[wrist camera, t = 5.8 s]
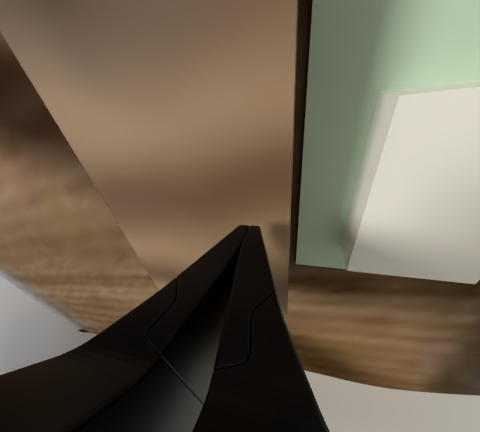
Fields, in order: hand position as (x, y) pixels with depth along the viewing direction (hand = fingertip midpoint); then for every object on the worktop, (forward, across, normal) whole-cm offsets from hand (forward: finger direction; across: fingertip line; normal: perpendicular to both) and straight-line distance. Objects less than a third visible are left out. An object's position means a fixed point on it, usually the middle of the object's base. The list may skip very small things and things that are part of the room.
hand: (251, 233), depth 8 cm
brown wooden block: (+5, +4, -1) cm, 6 cm away
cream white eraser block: (+3, -8, 0) cm, 8 cm away
